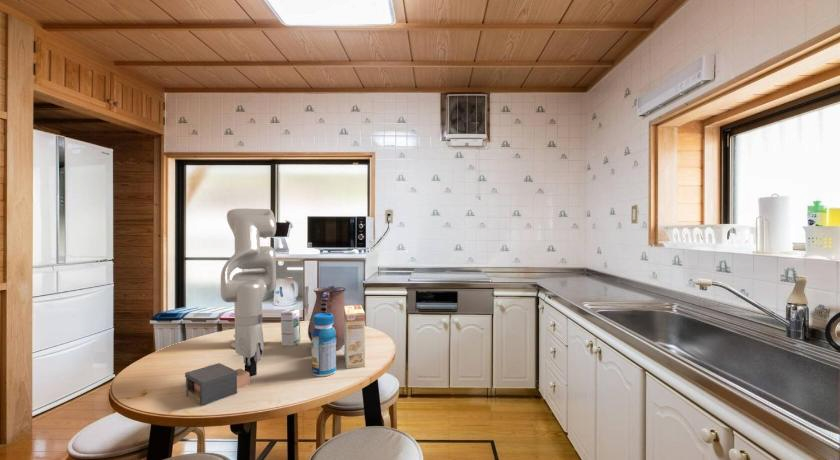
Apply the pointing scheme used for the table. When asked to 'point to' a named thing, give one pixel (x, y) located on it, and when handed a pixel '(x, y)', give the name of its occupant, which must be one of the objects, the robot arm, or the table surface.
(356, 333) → the coffeecake box
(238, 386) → the terracotta slab
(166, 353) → the table surface
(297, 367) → the table surface
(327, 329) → the beverage bottle
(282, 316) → the syrup box
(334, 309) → the ceramic pitcher
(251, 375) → the robot arm
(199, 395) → the grey open-ended tunnel
